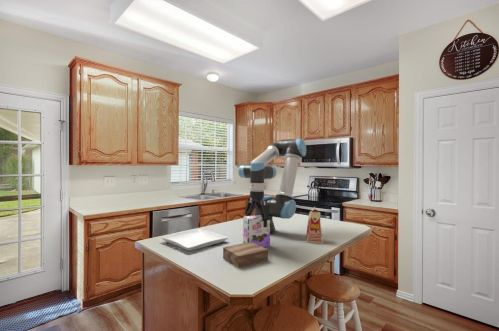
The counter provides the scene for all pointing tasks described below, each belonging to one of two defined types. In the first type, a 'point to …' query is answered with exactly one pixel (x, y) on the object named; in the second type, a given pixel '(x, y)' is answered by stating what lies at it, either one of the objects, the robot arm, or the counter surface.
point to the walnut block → (245, 254)
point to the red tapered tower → (314, 227)
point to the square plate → (194, 239)
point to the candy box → (255, 231)
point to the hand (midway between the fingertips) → (256, 230)
